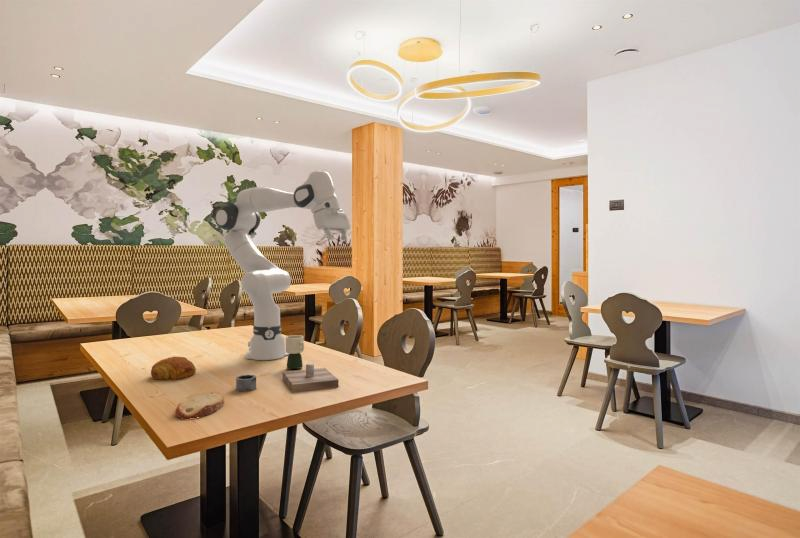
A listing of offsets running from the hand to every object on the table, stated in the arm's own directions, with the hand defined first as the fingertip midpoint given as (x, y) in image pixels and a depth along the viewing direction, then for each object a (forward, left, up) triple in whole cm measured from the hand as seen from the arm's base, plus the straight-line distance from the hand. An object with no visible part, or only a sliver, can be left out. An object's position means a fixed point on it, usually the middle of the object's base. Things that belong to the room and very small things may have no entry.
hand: (338, 240), depth 193 cm
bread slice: (+31, -53, -53) cm, 81 cm away
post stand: (+18, -16, -52) cm, 57 cm away
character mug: (-4, -17, -52) cm, 55 cm away
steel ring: (+17, -38, -52) cm, 67 cm away
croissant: (-11, -61, -52) cm, 81 cm away
